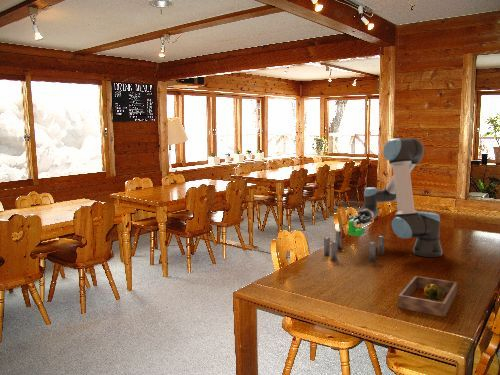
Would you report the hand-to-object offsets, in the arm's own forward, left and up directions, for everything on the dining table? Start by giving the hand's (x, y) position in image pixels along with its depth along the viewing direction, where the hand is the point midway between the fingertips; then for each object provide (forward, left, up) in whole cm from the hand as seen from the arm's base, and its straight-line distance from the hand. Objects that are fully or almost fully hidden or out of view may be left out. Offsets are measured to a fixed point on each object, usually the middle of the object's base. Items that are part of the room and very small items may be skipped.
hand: (351, 223), depth 245 cm
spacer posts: (0, 0, -18) cm, 18 cm away
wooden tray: (-50, +46, -18) cm, 70 cm away
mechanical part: (-2, -4, -6) cm, 8 cm away
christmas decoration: (-52, +45, -18) cm, 71 cm away
